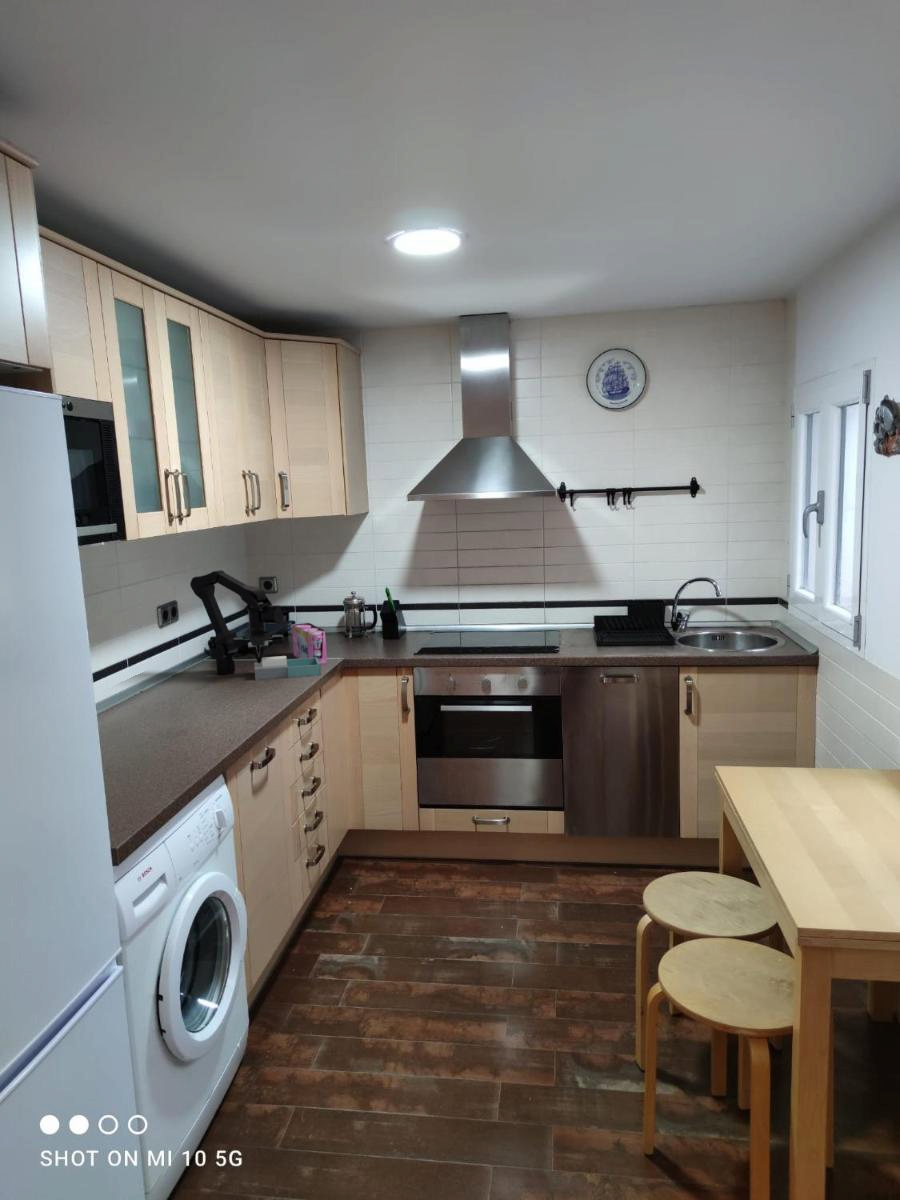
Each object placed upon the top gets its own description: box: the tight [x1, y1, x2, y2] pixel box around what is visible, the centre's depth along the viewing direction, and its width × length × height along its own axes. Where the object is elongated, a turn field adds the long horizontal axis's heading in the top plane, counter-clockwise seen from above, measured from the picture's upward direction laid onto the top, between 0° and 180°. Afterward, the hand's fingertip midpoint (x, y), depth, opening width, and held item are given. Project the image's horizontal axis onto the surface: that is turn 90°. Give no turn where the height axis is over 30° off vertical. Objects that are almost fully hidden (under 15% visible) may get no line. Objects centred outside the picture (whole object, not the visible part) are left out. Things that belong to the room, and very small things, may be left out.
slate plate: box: [254, 661, 288, 681], centre depth 297 cm, size 12×12×4 cm
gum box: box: [291, 622, 328, 665], centre depth 321 cm, size 24×8×14 cm, turn 27°
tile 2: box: [273, 655, 288, 666], centre depth 297 cm, size 4×4×2 cm
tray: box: [287, 657, 322, 679], centre depth 300 cm, size 12×14×4 cm
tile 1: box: [261, 656, 275, 667], centre depth 296 cm, size 4×4×2 cm
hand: (259, 663), depth 295 cm, fingers closed
